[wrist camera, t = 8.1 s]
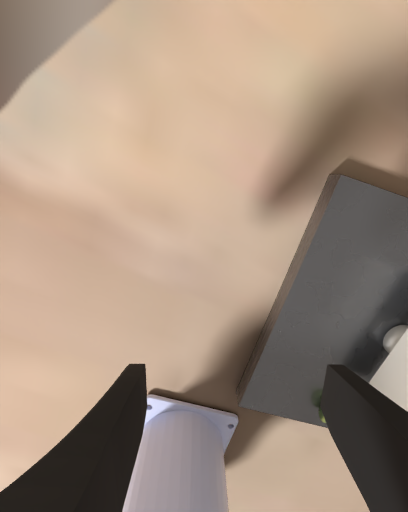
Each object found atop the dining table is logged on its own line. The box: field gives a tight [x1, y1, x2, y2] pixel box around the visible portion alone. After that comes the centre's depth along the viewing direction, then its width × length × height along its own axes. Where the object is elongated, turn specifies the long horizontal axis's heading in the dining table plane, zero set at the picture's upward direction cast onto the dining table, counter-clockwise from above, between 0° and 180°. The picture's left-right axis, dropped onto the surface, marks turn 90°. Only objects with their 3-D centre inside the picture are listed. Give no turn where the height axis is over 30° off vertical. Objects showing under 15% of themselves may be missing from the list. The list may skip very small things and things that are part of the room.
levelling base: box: [236, 174, 408, 428], centre depth 20 cm, size 18×18×3 cm
